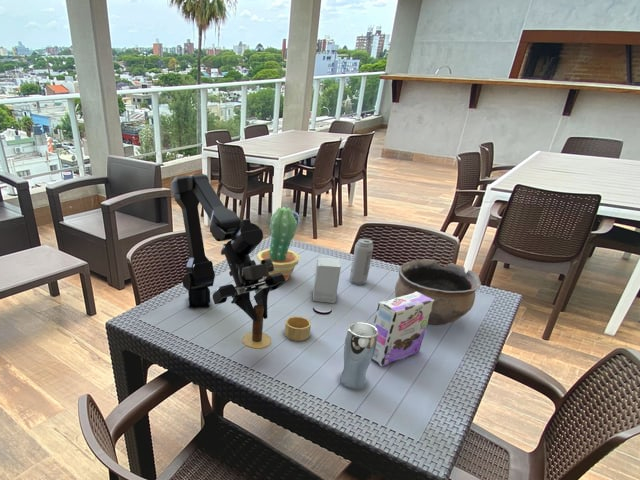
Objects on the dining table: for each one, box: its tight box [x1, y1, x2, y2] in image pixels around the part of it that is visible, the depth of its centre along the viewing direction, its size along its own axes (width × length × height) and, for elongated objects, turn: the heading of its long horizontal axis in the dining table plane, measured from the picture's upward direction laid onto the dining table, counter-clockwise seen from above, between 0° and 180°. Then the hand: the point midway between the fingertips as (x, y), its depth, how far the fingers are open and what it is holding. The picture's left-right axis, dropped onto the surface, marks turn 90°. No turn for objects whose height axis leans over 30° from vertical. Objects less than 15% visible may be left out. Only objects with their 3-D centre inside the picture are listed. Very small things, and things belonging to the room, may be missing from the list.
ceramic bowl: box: [394, 258, 482, 326], centre depth 130 cm, size 22×22×15 cm
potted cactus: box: [256, 206, 301, 281], centre depth 152 cm, size 15×15×25 cm
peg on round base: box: [241, 304, 273, 350], centre depth 110 cm, size 8×8×11 cm
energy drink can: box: [349, 238, 375, 285], centre depth 152 cm, size 6×6×15 cm
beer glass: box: [339, 321, 378, 390], centre depth 103 cm, size 7×7×15 cm
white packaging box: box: [312, 257, 342, 304], centre depth 142 cm, size 7×7×13 cm
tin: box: [284, 315, 312, 342], centre depth 124 cm, size 7×7×4 cm
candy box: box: [371, 292, 434, 367], centre depth 112 cm, size 14×6×16 cm, turn 117°
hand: (261, 319), depth 108 cm, fingers closed on peg on round base, 2 cm apart
